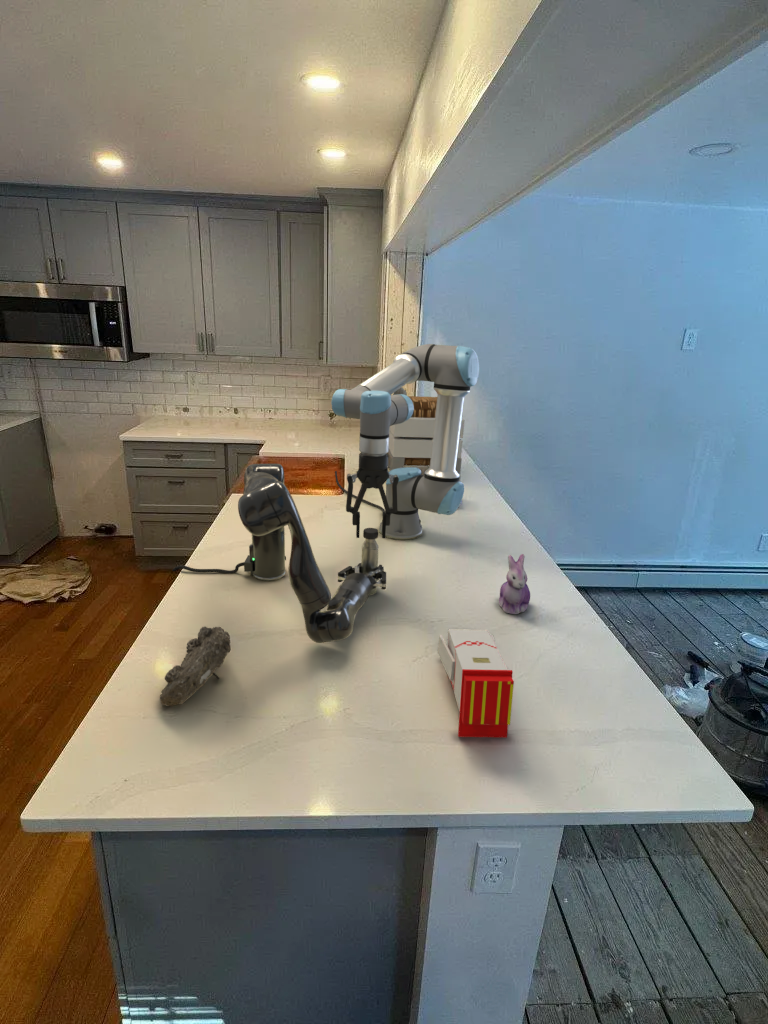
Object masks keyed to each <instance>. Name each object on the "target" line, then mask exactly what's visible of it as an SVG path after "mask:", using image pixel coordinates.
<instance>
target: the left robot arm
mask: <svg viewBox="0 0 768 1024" xmlns="http://www.w3.org/2000/svg"><path fill="white" fill-rule="evenodd" d="M243 484H244V487H243V493H242V496H240V497H239V499H238V501H237V502H238V503H237V511H238V515H239V519H240V521H241V522H242V525H243V527H244V528H245V529H246V530H247V531H248V533H250V534H251V544H249V545H248V551H249V552H248V555H246V558H245V560H244V561H243V562H239V563H237V564H236V565H235V567H234V569H232V570H228V569H222V568H194V567H191V566H187V565H176V566H175V567H174V568H173V569H172V570H171V572H177V571H178V570H186V571H189V572H192V573H221V574H228V575H229V574H231V575H233V574H236V573H237V572H239V568H241V567H243V572H245V573H246V572H247V573H249V575H250V577H253V578H255V579H257V580H259V581H262V582H263V581H264V582H270V581H277V580H280V579H282V578H284V577H285V576H286V574H287V573H286V572H287V571H286V570H287V569H286V561H287V555H286V542H285V541H286V540H285V539H286V538H285V535H286V533H285V527H286V526H288V529H289V532H290V538H291V545H290V546H291V547H290V556H289V563H288V581H289V584H290V587H291V589H292V591H293V593H294V594H295V596H296V599H297V601H298V603H299V604H300V607H301V610H302V611H301V612H302V617H303V620H304V625H305V632H306V634H307V636H308V639H310V640H311V641H312V642H314V643H316V644H324V643H330V642H331V643H332V642H337V641H343V640H345V639H347V638H349V637H350V636H351V635H352V634H353V630H354V622H355V616H356V614H357V613H358V612H359V610H360V609H361V608H362V607H363V606H364V604H365V603H366V602H367V600H368V598H369V597H370V596H371V595H370V593H371V591H372V589H374V588H376V587H377V588H378V587H379V588H381V590H384V591H385V590H386V589H387V572H386V571H385V570H384V566H383V564H378V568H377V569H376V570H375V571H371V572H369V573H368V574H364V573H361V562H359V563H357V565H355V566H354V567H353V566H352V565H348V566H346V567H344V568H343V569H342V570H339V572H338V571H337V582H338V583H341V584H340V585H339V586H338V588H337V589H336V591H335V593H334V595H333V596H332V593H331V591H330V588H329V586H328V584H327V582H326V580H325V578H324V576H323V574H322V572H321V570H320V568H319V565H318V563H317V561H316V558H315V555H314V552H313V548H312V546H311V543H310V540H309V537H308V534H307V531H306V529H305V526H304V524H303V523H304V522H303V521H302V518H301V515H300V513H299V509H298V507H297V505H296V502H295V500H294V498H293V496H292V494H291V492H290V490H289V489H288V487H287V486H286V484H285V470H284V467H283V466H282V464H281V463H252V464H249V465H248V466H247V467H246V468H245V470H244V475H243ZM376 581H377V582H376ZM325 608H326V610H323V609H325Z"/></svg>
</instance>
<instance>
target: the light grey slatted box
mask: <svg viewBox="0 0 768 1024" xmlns="http://www.w3.org/2000/svg"><path fill="white" fill-rule="evenodd" d="M395 394H404V395H406V396H408V397H409V398H410V399H411V400H412V402H413V406H414V411H413V414H412V416H411V418H410V419H408V420H407V421H404V422H403V423H401V424H395V425H392V426H390V428H389V451H388V452H387V454H388V468H389V472H390V471H391V470H393V469H397V468H405V466H406V467H409V466H411V467H417V466H418V467H430V460H431V450H432V441H433V432H434V423H435V413H436V404H437V396H415V395H414V396H413V395H412V396H411V395H407V394H408V393H407V390H406V389H404V388H403V386H402V387H401V388H400V389H398V390H397V391H395V392H394V393H393V394H392V395H395ZM464 429H465V419H464V418H462V421H461V429H460V437H459V445H458V454H457V462H456V471H457V473H458V474H459V481H460V482H461V472H462V461H463V460H462V453H463V442H464V441H463V440H462V439H463V438H464V431H465V430H464Z"/></svg>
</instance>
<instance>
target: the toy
mask: <svg viewBox="0 0 768 1024" xmlns="http://www.w3.org/2000/svg"><path fill="white" fill-rule="evenodd" d="M446 640H447V643H446V641H445V639H444V636H443V635H442V634H439V637H438V646H437V656H438V657H439V659H440V661H441V663H442V666H443V668H444V670H445V672H446V674H447V677H448V679H449V681H450V684H451V687H452V690H453V693H454V697H455V701H456V705H457V708H458V711H459V714H458V715H459V716H458V730H457V731H458V732H457V737H458V738H508V731H509V726H510V725H511V717H512V707H513V697H514V696H513V695H514V684H515V680H514V679H513V673H514V671H513V670H512V669H508V667H507V665H506V662H505V661H504V659H503V658H502V655H501V653H500V651H499V649H498V647H497V643H496V639H495V637H494V635H493V634H491V632H490V631H489V629H467V628H466V629H465V628H463V629H461V628H460V629H459V628H448V630H447V639H446Z"/></svg>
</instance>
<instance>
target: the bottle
mask: <svg viewBox="0 0 768 1024" xmlns="http://www.w3.org/2000/svg"><path fill="white" fill-rule="evenodd" d="M364 539H365V538H364ZM360 563H361V573H364V574H368V573H369V572H371V571H375V570H376V569H377V568H378V566H379V544H378V542H377V539H372V540H370V539H365V540H364V542H363V543H362V544H361V562H360ZM376 582H378V581H376ZM377 590H378V587H376V588H374V589H372V591H371V593H370V595H369V596H373V595H375V594H377V592H378V591H377Z"/></svg>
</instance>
